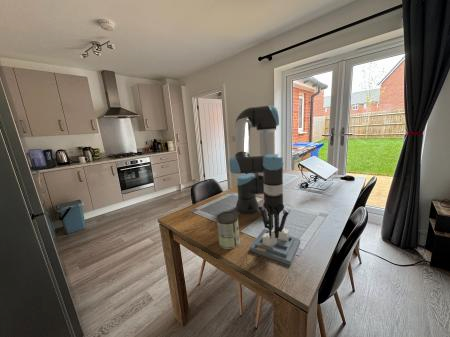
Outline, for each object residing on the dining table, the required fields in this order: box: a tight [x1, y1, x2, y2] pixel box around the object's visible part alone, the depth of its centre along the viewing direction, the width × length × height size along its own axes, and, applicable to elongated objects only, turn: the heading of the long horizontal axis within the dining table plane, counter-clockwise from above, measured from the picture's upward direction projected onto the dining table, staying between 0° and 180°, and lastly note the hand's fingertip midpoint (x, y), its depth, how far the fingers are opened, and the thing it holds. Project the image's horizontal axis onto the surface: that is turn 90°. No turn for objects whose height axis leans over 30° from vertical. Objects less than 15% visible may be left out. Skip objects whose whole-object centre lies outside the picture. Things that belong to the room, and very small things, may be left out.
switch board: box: [249, 228, 301, 266], centre depth 83 cm, size 18×16×3 cm
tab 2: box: [278, 227, 290, 242], centre depth 83 cm, size 4×3×6 cm
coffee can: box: [215, 211, 241, 250], centre depth 87 cm, size 10×10×14 cm
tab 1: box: [262, 233, 274, 248], centre depth 81 cm, size 4×3×6 cm
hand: (274, 243), depth 79 cm, fingers closed
